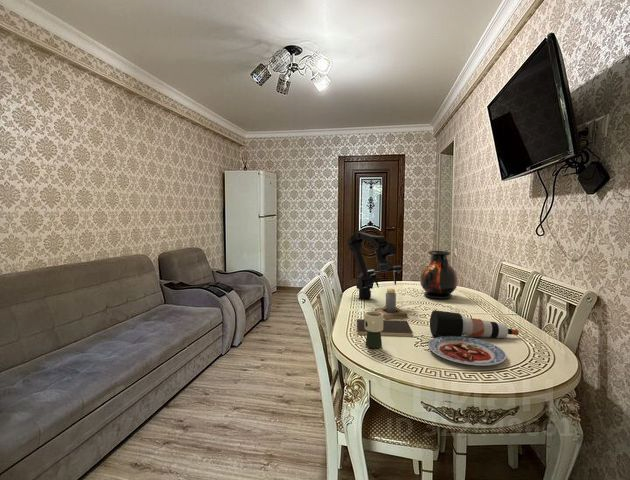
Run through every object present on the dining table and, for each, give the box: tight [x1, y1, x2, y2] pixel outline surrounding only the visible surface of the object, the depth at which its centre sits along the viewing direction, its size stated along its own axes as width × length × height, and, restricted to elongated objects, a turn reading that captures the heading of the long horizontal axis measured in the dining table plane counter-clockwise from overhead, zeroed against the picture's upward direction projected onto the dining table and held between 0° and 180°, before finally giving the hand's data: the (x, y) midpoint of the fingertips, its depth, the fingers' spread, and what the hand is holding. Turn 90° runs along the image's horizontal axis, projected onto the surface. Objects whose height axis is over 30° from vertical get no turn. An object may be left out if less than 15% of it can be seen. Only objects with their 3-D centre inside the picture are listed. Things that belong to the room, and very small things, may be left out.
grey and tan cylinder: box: [385, 288, 397, 313], centre depth 168 cm, size 5×5×13 cm
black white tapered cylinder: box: [429, 309, 519, 340], centre depth 138 cm, size 10×34×10 cm, turn 84°
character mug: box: [364, 310, 384, 349], centre depth 128 cm, size 11×7×13 cm, turn 168°
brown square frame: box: [374, 306, 408, 320], centre depth 169 cm, size 12×12×2 cm
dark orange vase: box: [419, 250, 459, 301], centre depth 203 cm, size 22×22×28 cm
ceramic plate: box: [428, 335, 507, 367], centre depth 122 cm, size 26×26×3 cm
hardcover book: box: [356, 318, 414, 337], centre depth 148 cm, size 16×23×2 cm
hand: (386, 286), depth 181 cm, fingers open, 9 cm apart
